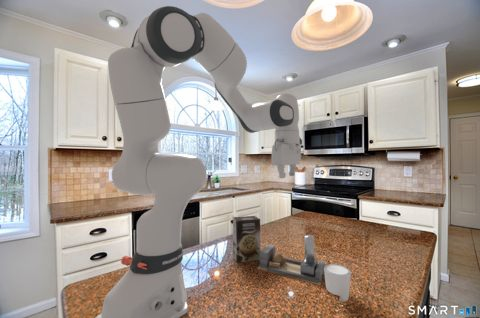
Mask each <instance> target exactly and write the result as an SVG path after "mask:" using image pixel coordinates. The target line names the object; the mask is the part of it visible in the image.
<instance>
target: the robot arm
mask: <svg viewBox="0 0 480 318" xmlns="http://www.w3.org/2000/svg"><path fill="white" fill-rule="evenodd" d="M133 36H134V37H133V40H132V44H131V47H122V48H119V49H117V50H115V51H114V52H112V53H111V54H110V55H109V58H108V60H107V69H108V76H109V85H110V90H111V94H112V98H113V102H114V106H115V110H116V113H117V116H118V120H119V123H120V127H121V131H122V132H121V133H122V139H123V140H122V141H123V142H122V144H123V145H122V152H121V155H120V157H119V159H118V160H117V161H116V162H115V164H114V165H113V168H112V172H111V179H112V182H113V185H114V187H115V188H116V189H117V190H119V191H121V192H125V193H128V194H131V195H135V196H138V195H139V196H154V202H153V205H152V208H151V209H148V210H147V211H145V212H144V213H143V214H141V216H140V217H139V218H138V220H137V221H136V249H135V250H134V254H133V256H132V257H131V256H128V255H123V256H122V257H121V259H120V264H121V265H122V266H123V265H124V266H127V267H128V266H129V268H128V270H127V271H126V272H125V273H124V275H123V276H122V277H121V278H120V279H119V280H118V282H117V283H116V284H115V285H114V286H113V287H112V288H111V289H110V290H109V291H108V292H107V294H106V295H105V298H104V300H103V304H102V308H101V313H100V314H98V315H97V316H95V318H181V317H182V316H184V315H185V314H187V313H188V310H189V309H188V307H189V306H188V304H187V301H188V294H187V289H186V287H185V279H184V272H183V265H182V261H183V259H184V256H183V255H184V250H183V244H182V225H183V224H182V223H183V222H182V221H183V217H184V212H185V209H186V208H187V206H188V203H189V202H190V201H191V200H192V198H193V197H195V196H196V195H197V194H198V193H199V192H201V191H202V189H203V187H204V186H205V184H206V181H207V176H208V174H207V169H206V166H205V164H204V162H203V161H202V159H200V157H198V156H194V155H190V154H184V153H160V151H159V142H161V141H162V140H164V138H166V136H168V134H169V133H170V130H171V119H170V114H169V110H168V106H167V101H166V97H165V91H164V88H163V85H162V83H163V82H162V81H163V79H162V77H163V73H164V70H165V69H166V68H173V67H177V66H178V65H181V64H183V63H186V62H188V61H190V60H191V59H193V61H195V62H196V63H198V64H199V65H200V66H201V67H202V69H203V70H204V71H205V72H206V73H207V74H208V75H209V76H210V78H211V79H212V80H213V82H214V84H213V85H214V88H215V90H216V92H217V94H219V96H220V98H222V100H223V101H224V102H225V103H226V105H227V106H228V108H230V111H232V113H233V114H234V115H235V116H236V118H237V120H238V121H239V123H240V124H241V127H242V128H243V129H244V130H245V131H246V132H247V133H250V134H252V133H253V134H254V133H258V132H261V131H269V130H274V143H273V145H272V147H271V165H272V166H277V171H278V175H279V176H278V177H279V179H285V178H286V172H285V166H288V165H289V171H288V175H289V177H295V175H296V174H295V173H296V168H297V165H299V164H300V163H301V159H302V146H303V139H302V138H301V136H300V129H299V121H300V113H299V112H300V110H299V104H298V99H297V97H296V96H295V95H294V94H290V93H282V94H279V95H277V96H276V98H274V99H271V100H268V101H267V100H266V101H265V102H260V103H256V104H253V103H249V102H248V101H247V100H246V98H245V97H244V95H243V94H242V92H241V91H240V90H239V89H238V85H239V84H240V83H241V81H242V80H243V79H244V76H245V74H246V72H247V67H248V63H247V57H246V55H245V52H244V51H243V49H242V48H241V47H240V45H239V44H238V43H237V42H236V41H235V39H234V38H233V36H232V35H231V34H230V33H229V32H228V31H227V30H226V29H225V28H224V27H223V26H222V24H220V23H219V22H218V21H217V20H216V19H214V18H213V16H211V15H210V14H208V13H206V12H200V13H196V14H193V15H192V14H189V13H188V12H187V11H185V10H184V9H181V8H179V7H177V6H173V5H172V6H171V5H167V6H162V7H158V8H156V9H154V10H153V11H152V13H150V15H147V17H145V18H144V19H143V20H142V21H141V23H140V25H139V27H138V28H137V30H136V31H135V33H134V35H133Z"/></svg>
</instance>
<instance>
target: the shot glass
mask: <svg viewBox="0 0 480 318" xmlns="http://www.w3.org/2000/svg"><path fill="white" fill-rule="evenodd" d="M351 276H352V272H351V270H350V269H349V268H348V267H346V266H344V265H342V264H335V263H330V264H325V267H324V281H325V283H324V284H325V289H326V291H327V292H329V294H330V293H331V295H335V296H338V297H339V299H338V302H346V301H348V300H349V297H350V287H351V279H352V277H351Z"/></svg>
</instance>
